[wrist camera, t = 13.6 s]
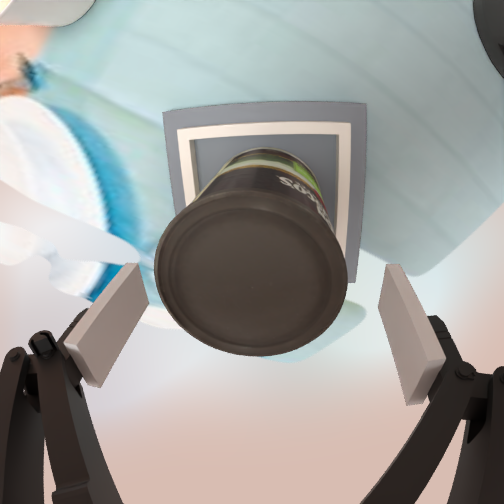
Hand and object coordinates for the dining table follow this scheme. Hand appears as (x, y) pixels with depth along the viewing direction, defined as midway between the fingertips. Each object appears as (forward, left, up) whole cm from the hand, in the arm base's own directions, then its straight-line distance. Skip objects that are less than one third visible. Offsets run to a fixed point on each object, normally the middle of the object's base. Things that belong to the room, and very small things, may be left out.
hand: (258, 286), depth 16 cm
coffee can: (+1, 0, -14) cm, 14 cm away
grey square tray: (0, 0, -16) cm, 16 cm away
